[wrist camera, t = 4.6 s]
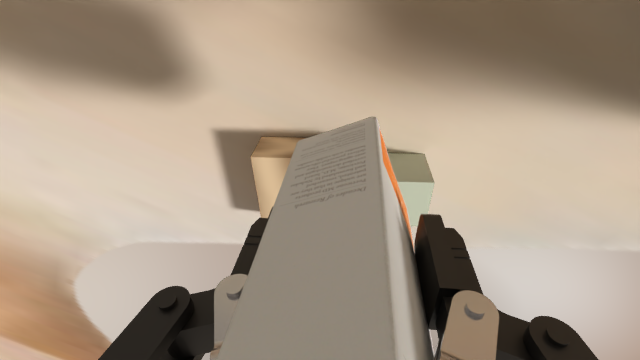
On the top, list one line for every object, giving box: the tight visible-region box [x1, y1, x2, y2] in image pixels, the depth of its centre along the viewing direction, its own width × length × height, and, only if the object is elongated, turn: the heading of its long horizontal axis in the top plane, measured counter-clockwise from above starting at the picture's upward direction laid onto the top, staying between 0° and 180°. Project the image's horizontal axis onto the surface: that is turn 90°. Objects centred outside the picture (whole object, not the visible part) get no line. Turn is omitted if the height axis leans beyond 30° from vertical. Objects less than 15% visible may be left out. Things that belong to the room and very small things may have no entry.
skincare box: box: [216, 117, 434, 360], centre depth 12 cm, size 6×4×12 cm
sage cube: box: [388, 153, 434, 226], centre depth 31 cm, size 5×5×5 cm
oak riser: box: [251, 137, 305, 218], centre depth 32 cm, size 10×10×4 cm
